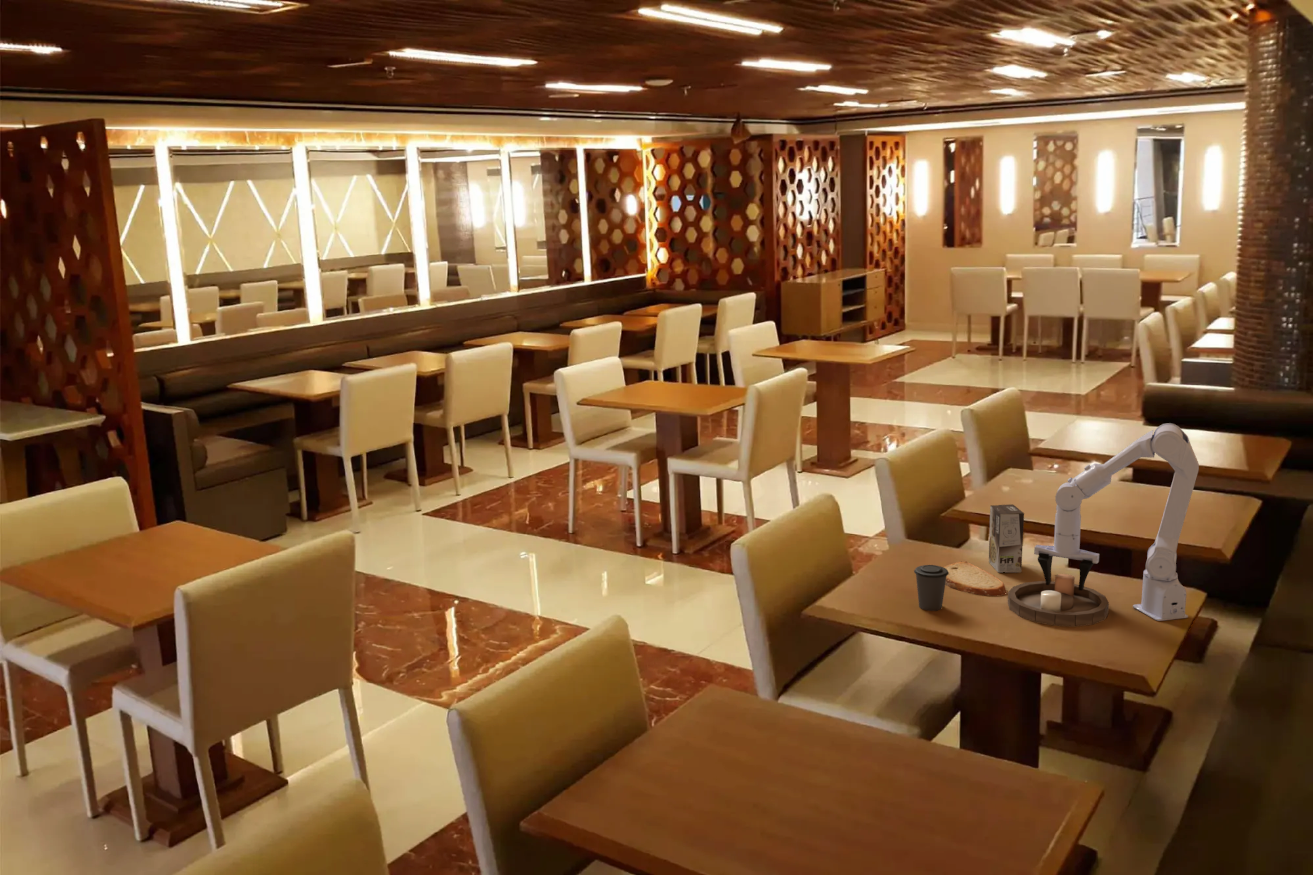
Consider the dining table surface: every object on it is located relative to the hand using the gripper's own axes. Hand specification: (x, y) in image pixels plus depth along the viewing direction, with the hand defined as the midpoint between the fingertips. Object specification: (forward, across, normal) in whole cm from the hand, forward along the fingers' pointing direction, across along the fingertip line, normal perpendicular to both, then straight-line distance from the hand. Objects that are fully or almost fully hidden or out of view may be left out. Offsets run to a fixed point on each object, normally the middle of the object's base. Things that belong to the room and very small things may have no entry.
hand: (1064, 586), depth 257 cm
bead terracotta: (+3, 0, 0) cm, 3 cm away
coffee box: (+4, +19, -17) cm, 26 cm away
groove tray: (+3, 0, +6) cm, 7 cm away
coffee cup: (+4, +26, +20) cm, 33 cm away
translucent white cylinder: (+3, 0, +13) cm, 13 cm away
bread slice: (+4, +23, -1) cm, 24 cm away
